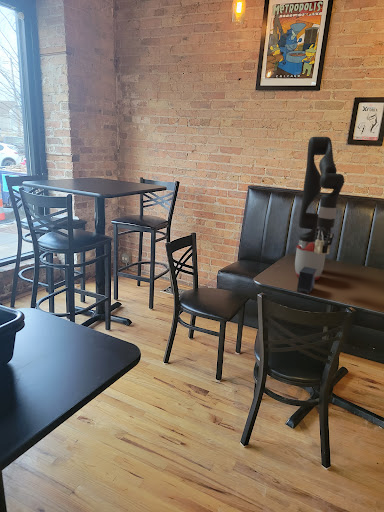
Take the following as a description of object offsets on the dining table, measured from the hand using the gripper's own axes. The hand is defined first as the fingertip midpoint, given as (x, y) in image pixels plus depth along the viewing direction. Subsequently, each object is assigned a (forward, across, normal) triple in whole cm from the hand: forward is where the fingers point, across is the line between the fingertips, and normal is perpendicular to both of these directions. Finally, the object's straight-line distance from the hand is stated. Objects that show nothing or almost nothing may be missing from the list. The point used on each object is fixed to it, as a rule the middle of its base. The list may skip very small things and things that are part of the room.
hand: (321, 251), depth 173 cm
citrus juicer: (+20, -20, +4) cm, 28 cm away
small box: (+20, 0, -6) cm, 21 cm away
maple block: (+1, 0, 0) cm, 1 cm away
